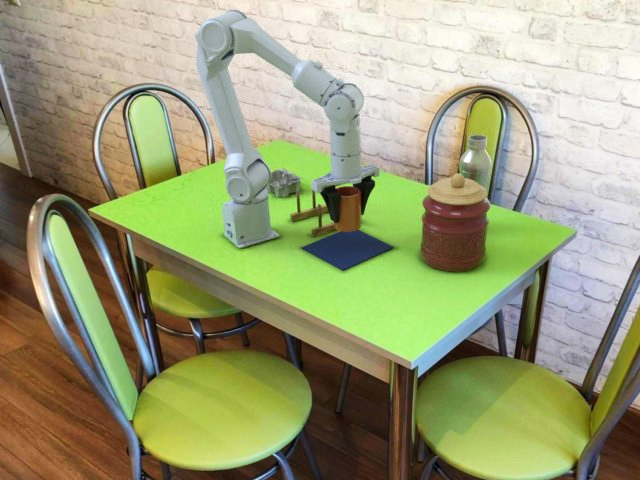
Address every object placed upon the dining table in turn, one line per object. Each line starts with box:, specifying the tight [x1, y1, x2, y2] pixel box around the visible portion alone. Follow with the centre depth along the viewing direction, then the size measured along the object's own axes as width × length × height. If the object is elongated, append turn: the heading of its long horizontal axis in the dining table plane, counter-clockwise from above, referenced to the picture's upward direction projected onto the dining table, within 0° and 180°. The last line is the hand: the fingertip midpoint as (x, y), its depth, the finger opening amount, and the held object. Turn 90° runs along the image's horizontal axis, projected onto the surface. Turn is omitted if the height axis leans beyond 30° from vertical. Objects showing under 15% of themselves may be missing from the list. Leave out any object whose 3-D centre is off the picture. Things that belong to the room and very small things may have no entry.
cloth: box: [301, 229, 395, 272], centre depth 144 cm, size 14×13×1 cm
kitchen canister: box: [420, 173, 491, 272], centre depth 135 cm, size 13×13×18 cm
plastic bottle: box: [458, 134, 492, 190], centre depth 146 cm, size 6×7×20 cm
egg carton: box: [267, 168, 303, 198], centre depth 169 cm, size 11×8×4 cm
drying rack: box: [289, 189, 337, 238], centre depth 153 cm, size 12×10×7 cm
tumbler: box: [334, 185, 362, 232], centre depth 139 cm, size 6×6×8 cm
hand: (347, 217), depth 140 cm, fingers closed on tumbler, 5 cm apart
